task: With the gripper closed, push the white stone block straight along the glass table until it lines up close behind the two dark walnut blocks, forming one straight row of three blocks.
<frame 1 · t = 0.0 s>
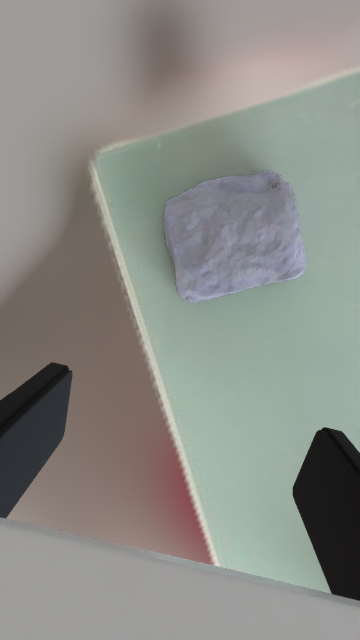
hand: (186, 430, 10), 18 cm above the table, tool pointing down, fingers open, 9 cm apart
stone block: (227, 237, 26), on the table
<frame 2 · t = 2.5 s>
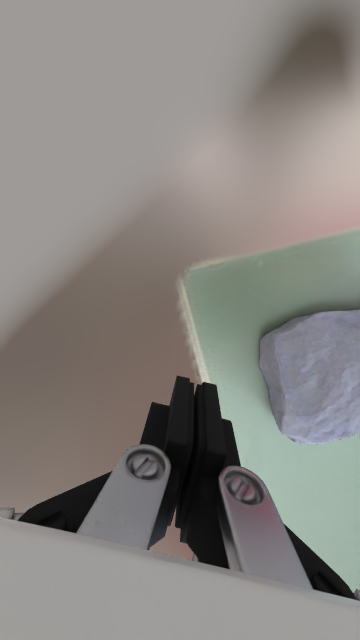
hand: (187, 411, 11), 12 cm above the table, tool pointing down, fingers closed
stone block: (329, 358, 23), on the table
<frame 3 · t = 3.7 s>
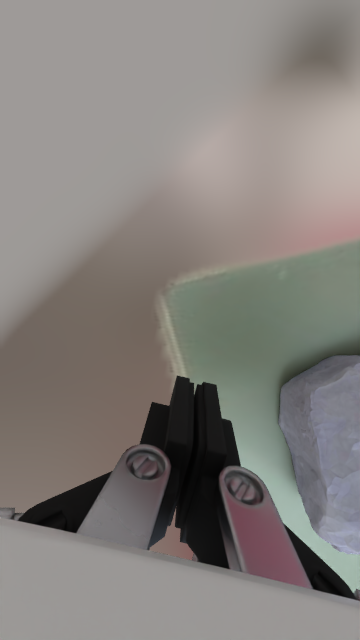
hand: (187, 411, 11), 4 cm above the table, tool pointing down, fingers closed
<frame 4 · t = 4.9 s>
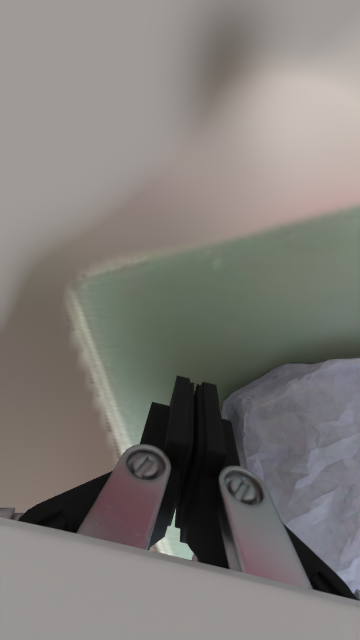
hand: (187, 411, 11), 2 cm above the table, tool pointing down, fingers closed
stone block: (348, 431, 13), on the table, touching gripper
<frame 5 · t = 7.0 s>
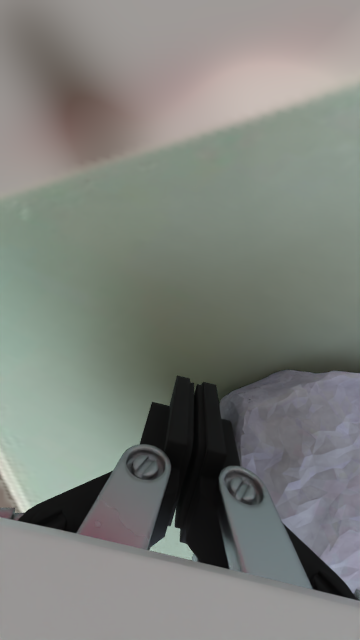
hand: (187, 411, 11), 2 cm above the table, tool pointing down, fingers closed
stone block: (336, 443, 13), on the table, touching gripper
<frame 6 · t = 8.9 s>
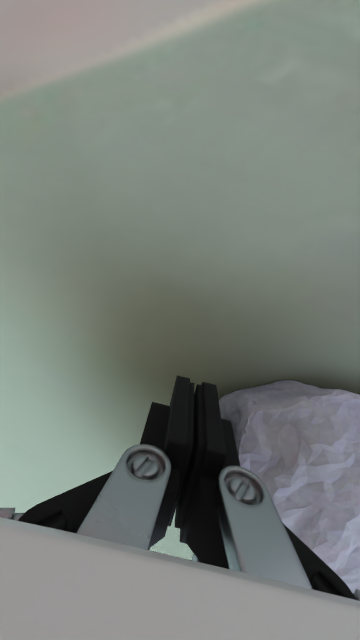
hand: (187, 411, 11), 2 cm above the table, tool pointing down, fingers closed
stone block: (319, 460, 13), on the table, touching gripper
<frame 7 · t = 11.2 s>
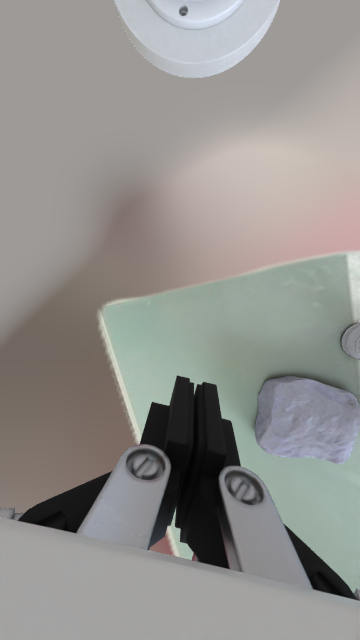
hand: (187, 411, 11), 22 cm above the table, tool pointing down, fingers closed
rook chess piece: (357, 338, 33), on the table
stone block: (301, 407, 35), on the table
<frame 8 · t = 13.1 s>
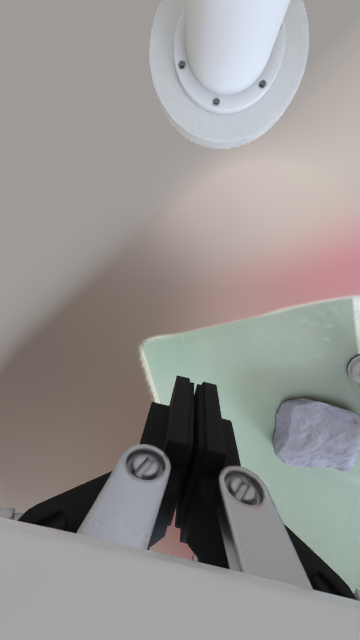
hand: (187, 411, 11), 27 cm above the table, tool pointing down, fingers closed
stone block: (312, 423, 41), on the table
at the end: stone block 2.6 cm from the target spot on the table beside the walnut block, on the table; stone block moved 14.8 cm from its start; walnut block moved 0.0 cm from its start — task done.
